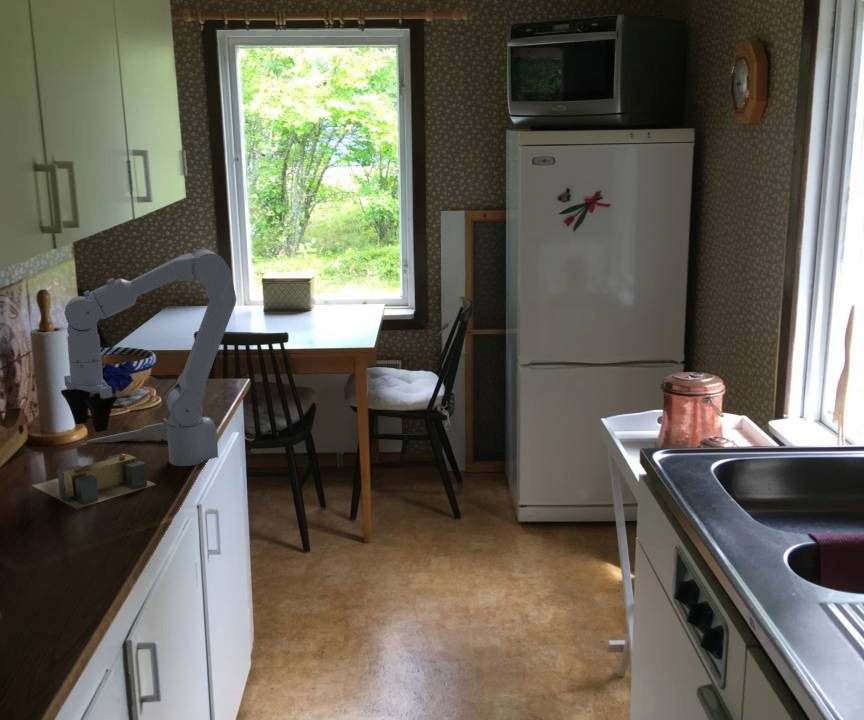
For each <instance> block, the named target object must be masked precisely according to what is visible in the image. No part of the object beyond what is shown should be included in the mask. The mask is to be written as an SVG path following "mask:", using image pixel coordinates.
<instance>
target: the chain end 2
mask: <svg viewBox="0 0 864 720" xmlns="http://www.w3.org/2000/svg"><path fill="white" fill-rule="evenodd" d="M119 454H123V453H118V454H114V455H110V456H107V460H108V459H112V458H116V457H119ZM146 464H147V463H146V462H144V461H142V460H137V462H133V463H130V464H126V477H127V481H124V482H121V483H119V484H121V485H123V486H126V487H128V488H130V489H132V490H134V489H138V488H141V487H144V486H147V481H148V479H147V465H146Z"/></svg>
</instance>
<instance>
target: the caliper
mask: <svg viewBox="0 0 864 720" xmlns="http://www.w3.org/2000/svg"><path fill="white" fill-rule="evenodd" d="M162 419H163V422H158V423H155V424H151V425H150V424H149V425H145V426H142V427H141V428H140V429H135V430H131V431H126V432H120V433H116V434H110V435H107V436H106V435H105V436H102V437H97V438H96V437H95V438H92V439H88V440H86V442H83V443H82V444H81V446H85V445H89V444H93V443H94V444H95V443H96V444H98V443H100V444H101V443H117V442H121V441H122V442H123V441H126V440H130V439H136V438H142V437H144V439H145V440H148V439H152V438H155V437H156V436H159V435H160V437H161V438H162V439H163V441H165V442H166V441H167V442H168V435H167V418H166V417H163V418H162Z"/></svg>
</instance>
